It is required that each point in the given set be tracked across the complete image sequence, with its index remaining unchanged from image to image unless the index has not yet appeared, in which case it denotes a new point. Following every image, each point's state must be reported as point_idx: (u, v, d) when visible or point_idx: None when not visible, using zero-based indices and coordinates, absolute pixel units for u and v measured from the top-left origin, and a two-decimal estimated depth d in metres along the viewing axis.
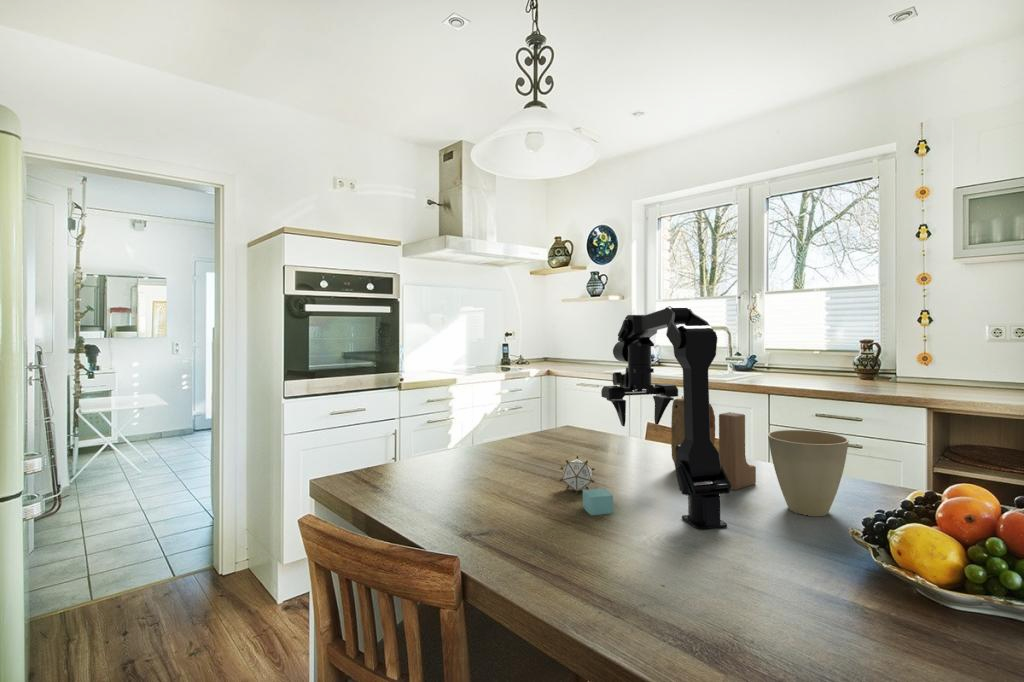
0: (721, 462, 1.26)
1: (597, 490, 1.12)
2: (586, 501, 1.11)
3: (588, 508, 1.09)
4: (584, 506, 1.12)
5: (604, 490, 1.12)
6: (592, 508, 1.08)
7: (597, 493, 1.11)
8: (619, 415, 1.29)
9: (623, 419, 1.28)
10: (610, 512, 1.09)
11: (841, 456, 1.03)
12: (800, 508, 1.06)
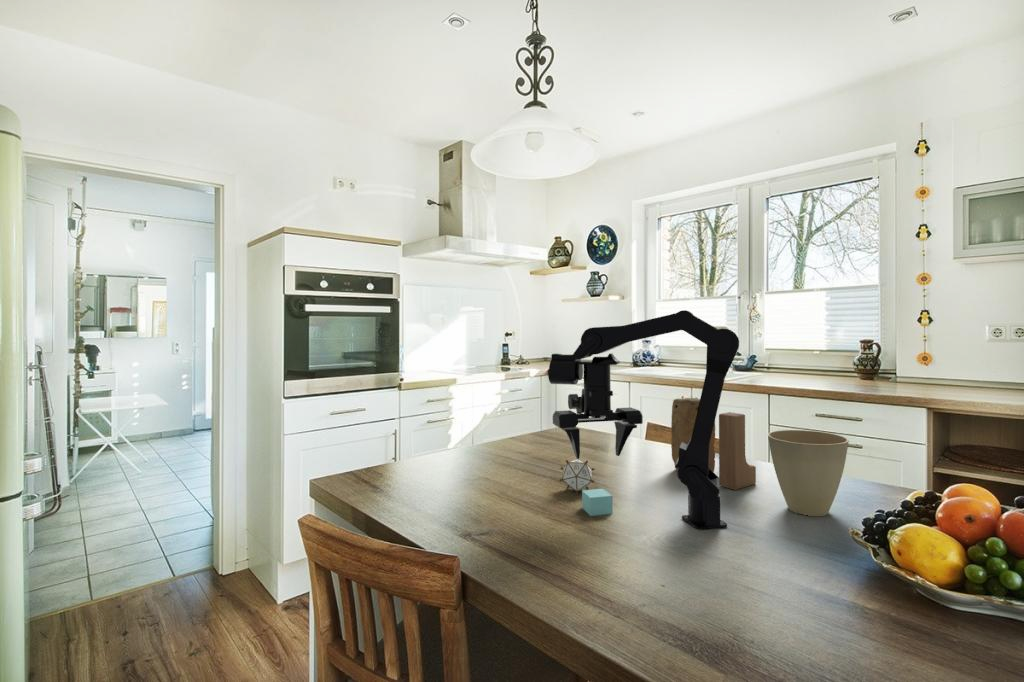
0: (721, 462, 1.26)
1: (596, 490, 1.12)
2: (585, 501, 1.11)
3: (588, 508, 1.09)
4: (583, 507, 1.12)
5: (603, 490, 1.12)
6: (591, 508, 1.08)
7: (597, 493, 1.10)
8: (573, 446, 1.10)
9: (577, 451, 1.09)
10: (609, 513, 1.09)
11: (841, 456, 1.03)
12: (800, 508, 1.06)
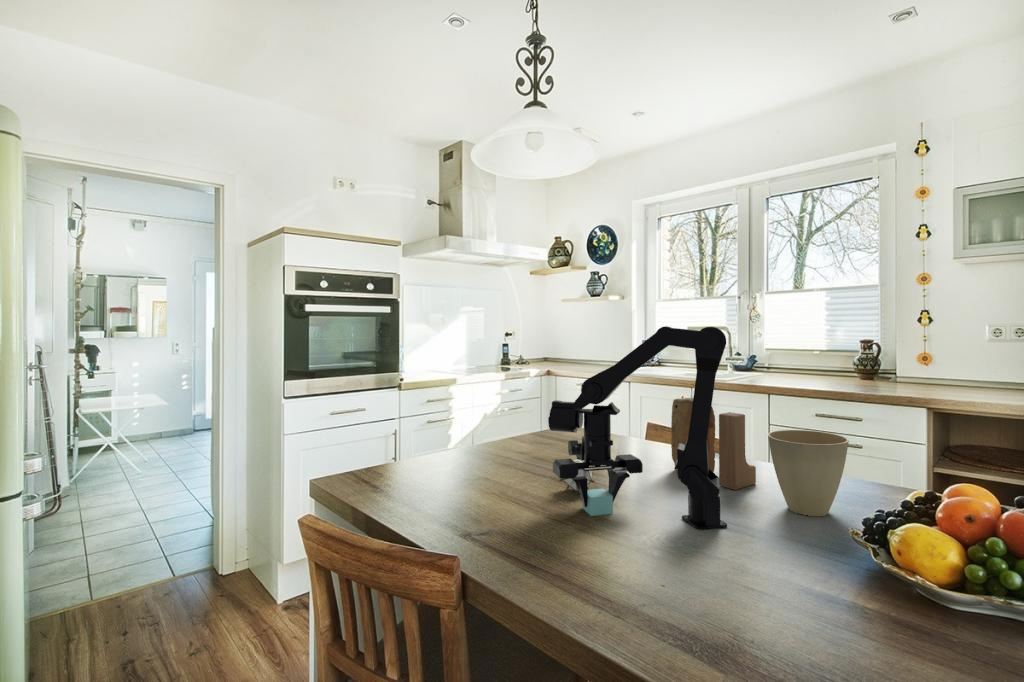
0: (721, 462, 1.26)
1: (597, 490, 1.12)
2: None
3: (588, 508, 1.09)
4: (584, 507, 1.12)
5: (604, 490, 1.12)
6: (592, 508, 1.08)
7: (597, 493, 1.10)
8: (580, 494, 1.10)
9: (585, 499, 1.09)
10: (609, 513, 1.09)
11: (841, 456, 1.03)
12: (800, 508, 1.06)
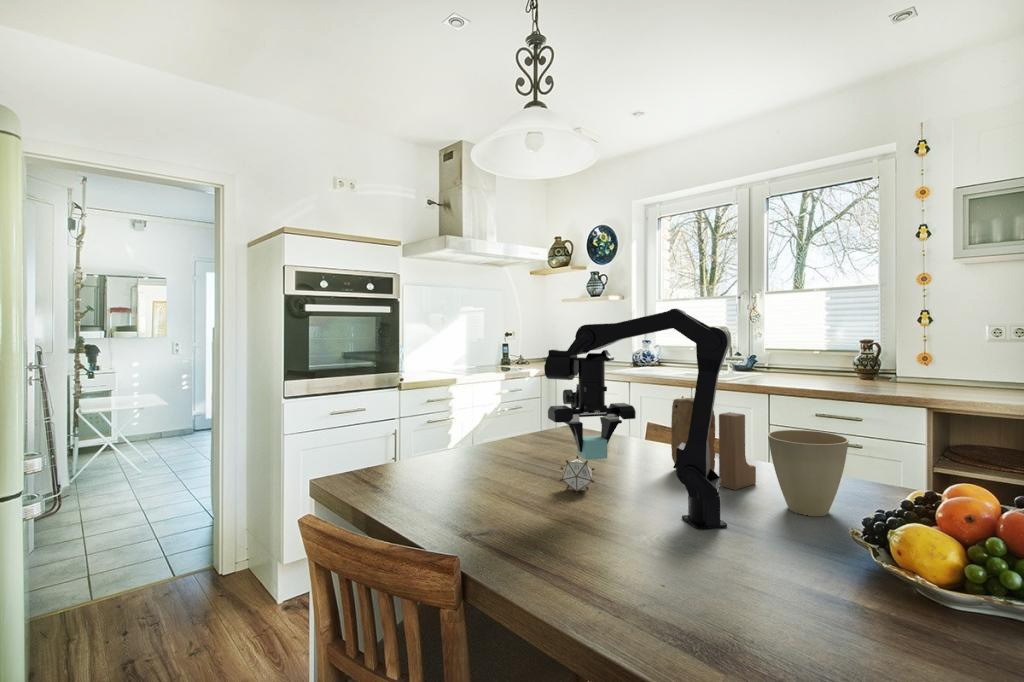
0: (721, 462, 1.26)
1: (592, 436, 1.15)
2: None
3: (583, 452, 1.11)
4: (579, 452, 1.14)
5: (598, 436, 1.15)
6: (587, 451, 1.10)
7: (592, 438, 1.13)
8: (576, 439, 1.13)
9: (580, 444, 1.12)
10: (604, 456, 1.11)
11: (841, 456, 1.03)
12: (800, 508, 1.06)
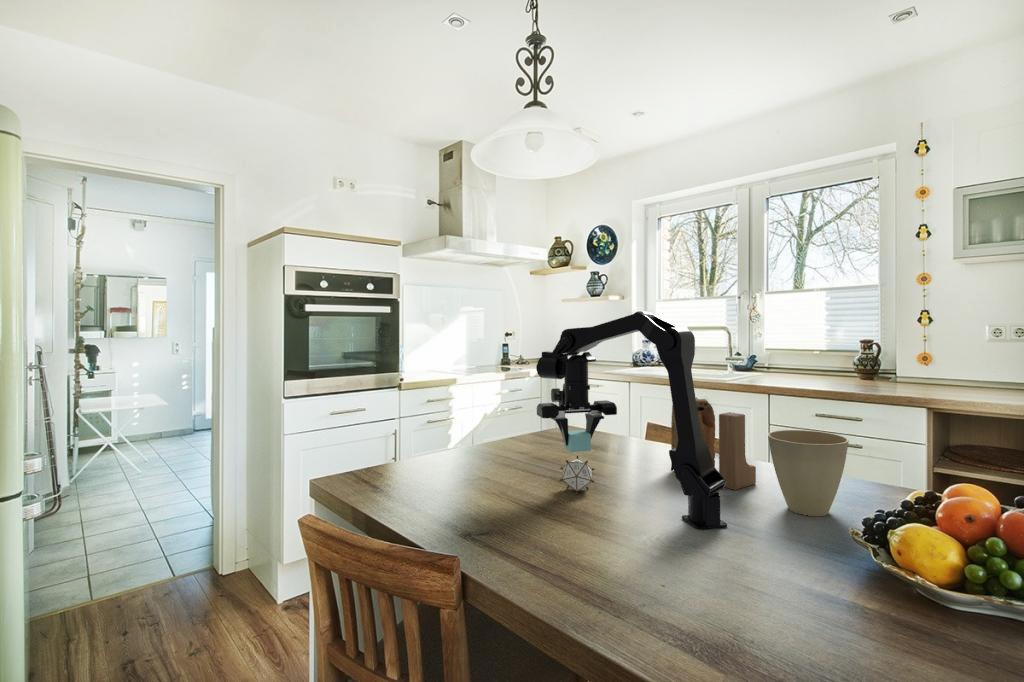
0: (721, 462, 1.26)
1: (577, 431, 1.25)
2: None
3: (569, 445, 1.22)
4: (565, 445, 1.25)
5: (583, 431, 1.25)
6: (572, 445, 1.21)
7: (577, 432, 1.23)
8: (562, 434, 1.23)
9: (566, 438, 1.22)
10: (588, 449, 1.22)
11: (841, 456, 1.03)
12: (800, 508, 1.06)
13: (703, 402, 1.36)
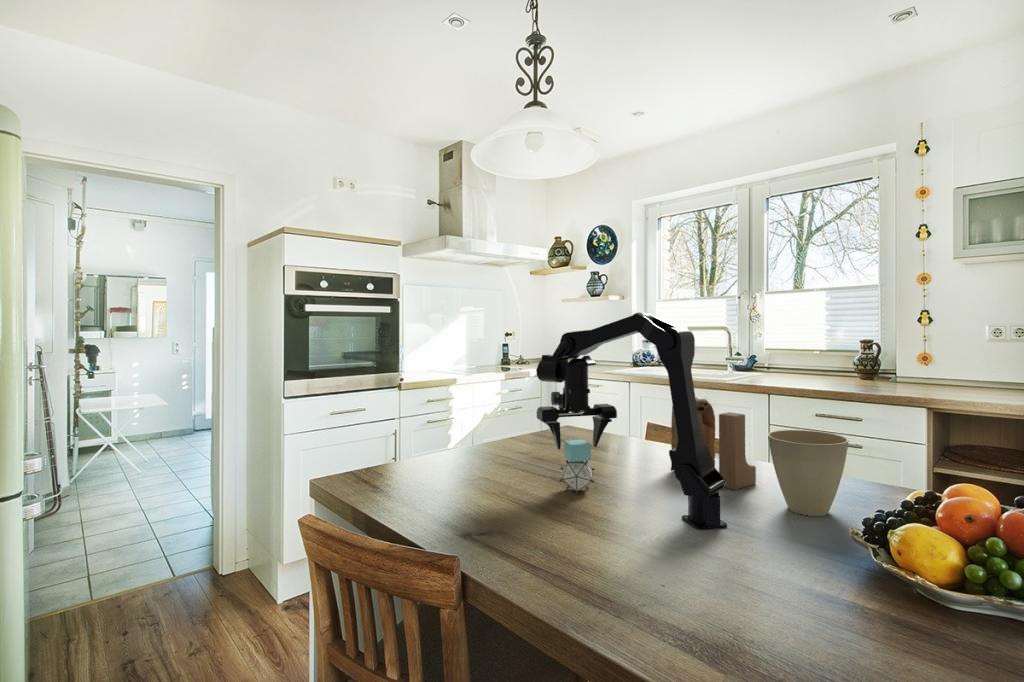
0: (721, 462, 1.26)
1: (577, 440, 1.25)
2: (567, 449, 1.24)
3: (569, 455, 1.22)
4: (565, 455, 1.25)
5: (583, 440, 1.25)
6: (572, 454, 1.21)
7: (577, 442, 1.23)
8: (554, 438, 1.23)
9: (558, 442, 1.22)
10: (588, 459, 1.22)
11: (841, 456, 1.03)
12: (800, 508, 1.06)
13: (703, 402, 1.36)
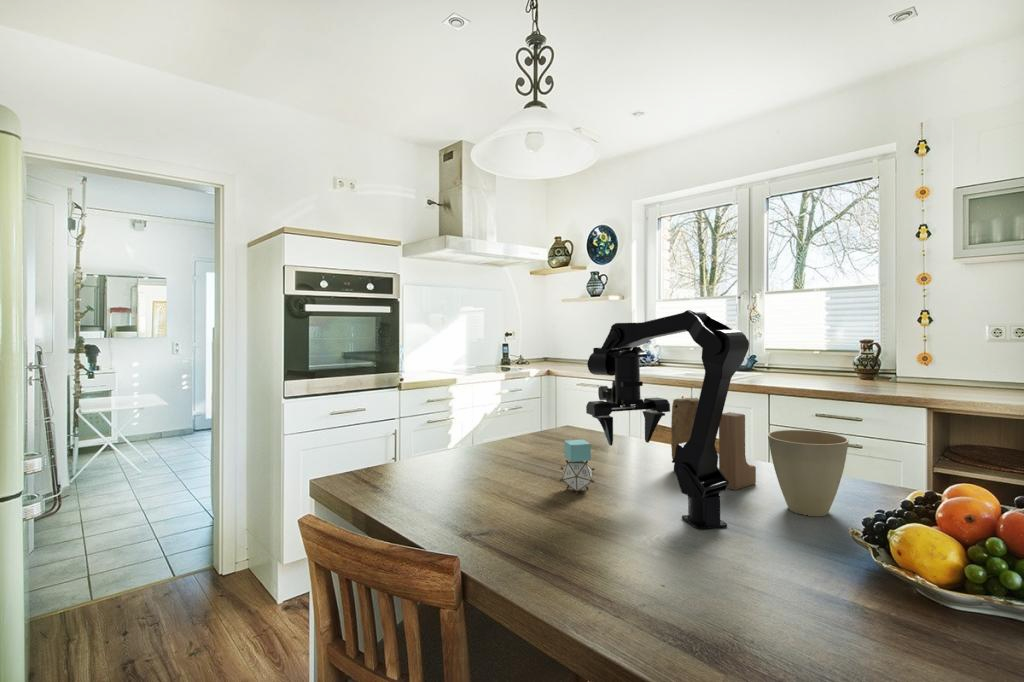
0: (721, 462, 1.26)
1: (577, 440, 1.25)
2: (566, 449, 1.24)
3: (569, 455, 1.22)
4: (565, 455, 1.25)
5: (583, 440, 1.25)
6: (572, 454, 1.21)
7: (577, 442, 1.23)
8: (606, 433, 1.17)
9: (610, 438, 1.16)
10: (588, 459, 1.22)
11: (841, 456, 1.03)
12: (800, 508, 1.06)
13: None
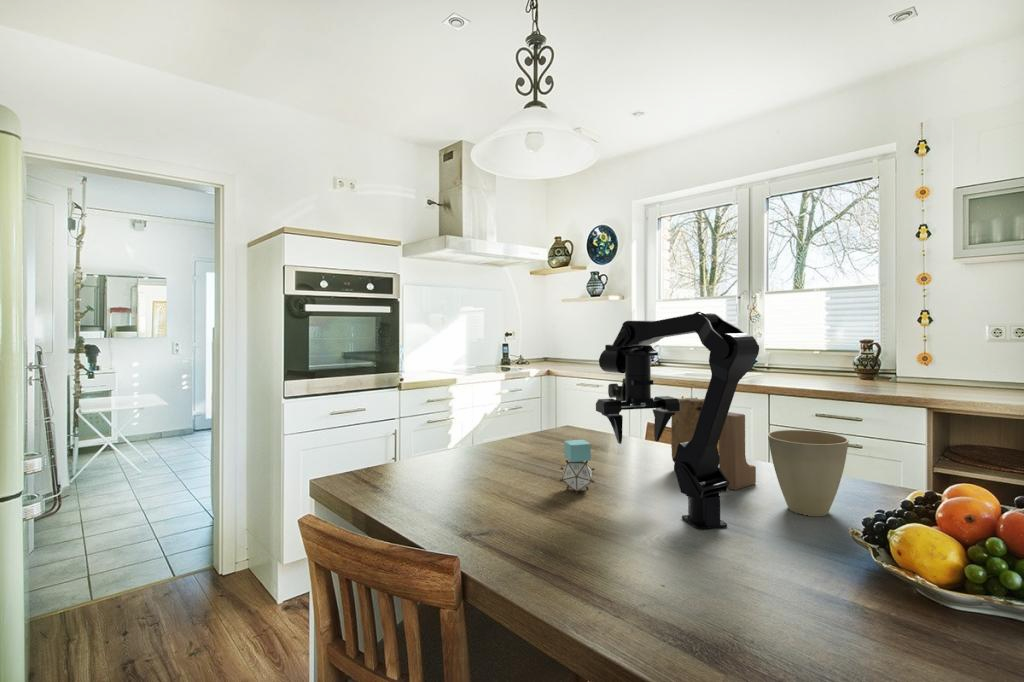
0: (721, 462, 1.26)
1: (577, 440, 1.25)
2: (566, 450, 1.24)
3: (569, 455, 1.22)
4: (565, 455, 1.25)
5: (583, 440, 1.25)
6: (572, 455, 1.21)
7: (577, 442, 1.23)
8: (615, 431, 1.17)
9: (619, 436, 1.16)
10: (588, 459, 1.22)
11: (841, 456, 1.03)
12: (800, 508, 1.06)
13: None
